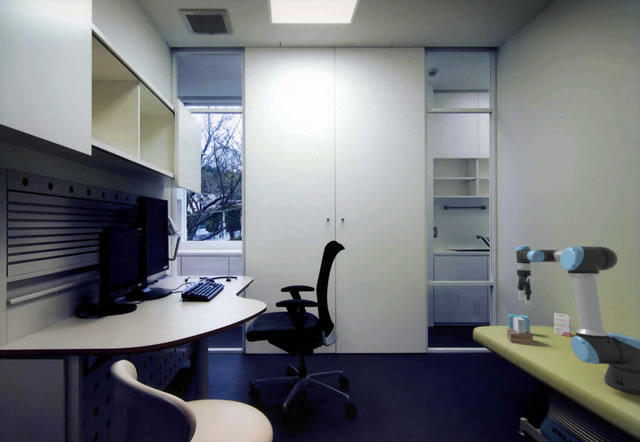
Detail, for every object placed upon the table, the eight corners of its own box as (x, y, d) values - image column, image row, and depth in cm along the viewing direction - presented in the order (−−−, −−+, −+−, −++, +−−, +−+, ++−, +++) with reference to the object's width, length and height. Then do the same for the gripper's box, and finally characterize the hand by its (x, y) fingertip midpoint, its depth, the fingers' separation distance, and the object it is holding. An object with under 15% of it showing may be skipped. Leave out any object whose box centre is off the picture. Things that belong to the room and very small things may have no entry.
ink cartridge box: (571, 335, 209) (570, 313, 210) (569, 337, 206) (569, 315, 206) (555, 332, 216) (555, 311, 216) (554, 333, 212) (553, 312, 213)
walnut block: (532, 344, 192) (532, 335, 192) (510, 342, 196) (510, 333, 197) (528, 339, 202) (527, 330, 202) (507, 337, 206) (507, 328, 206)
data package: (529, 333, 214) (529, 316, 214) (530, 335, 210) (529, 317, 210) (509, 330, 220) (508, 313, 220) (509, 332, 216) (509, 315, 216)
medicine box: (526, 333, 195) (525, 320, 195) (518, 333, 196) (517, 319, 196) (520, 329, 203) (520, 316, 203) (513, 329, 204) (513, 316, 204)
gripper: (512, 267, 212) (512, 298, 211) (522, 271, 188) (523, 306, 187) (524, 267, 209) (525, 298, 209) (537, 272, 186) (538, 307, 185)
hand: (524, 302), depth 198 cm, fingers open, 13 cm apart
